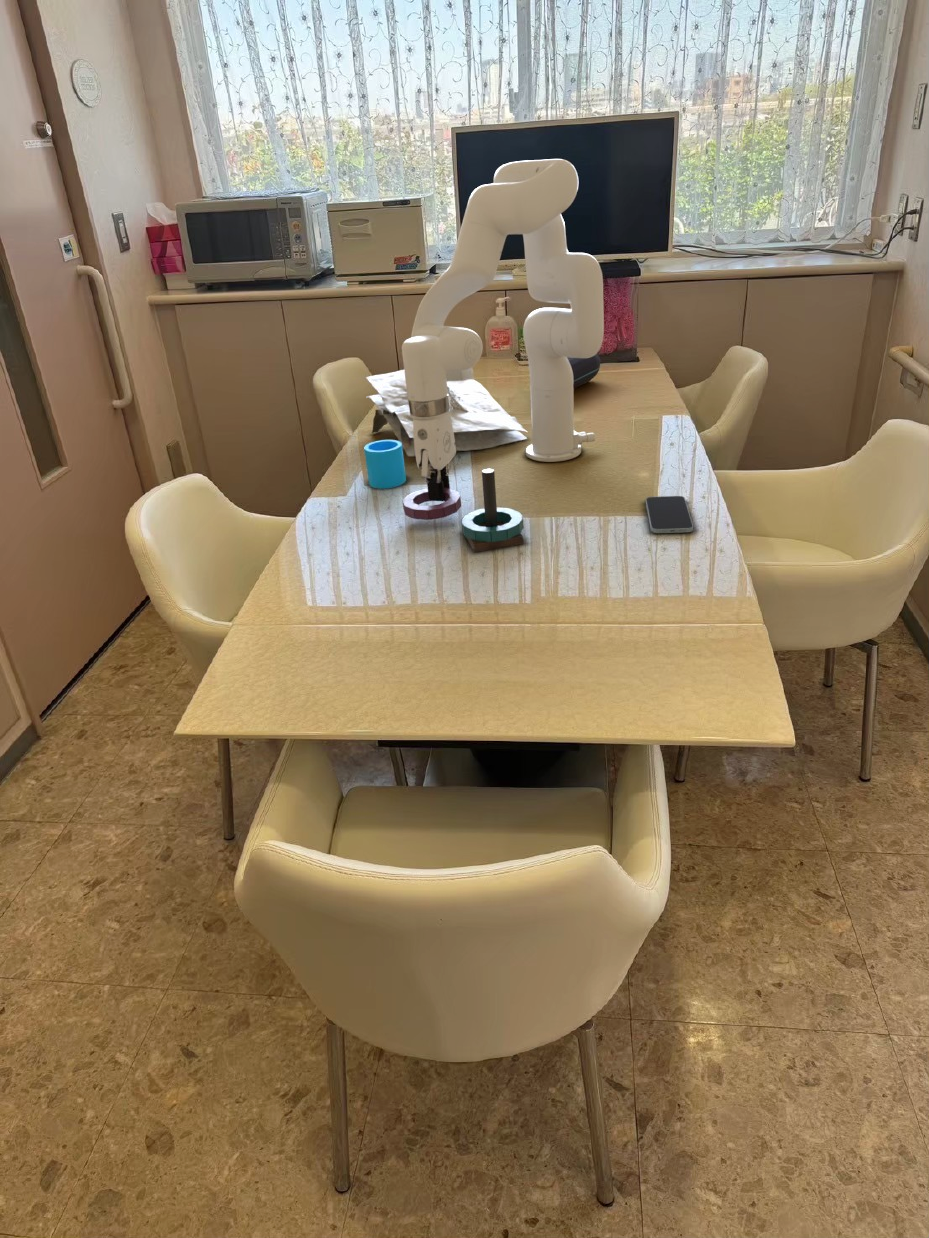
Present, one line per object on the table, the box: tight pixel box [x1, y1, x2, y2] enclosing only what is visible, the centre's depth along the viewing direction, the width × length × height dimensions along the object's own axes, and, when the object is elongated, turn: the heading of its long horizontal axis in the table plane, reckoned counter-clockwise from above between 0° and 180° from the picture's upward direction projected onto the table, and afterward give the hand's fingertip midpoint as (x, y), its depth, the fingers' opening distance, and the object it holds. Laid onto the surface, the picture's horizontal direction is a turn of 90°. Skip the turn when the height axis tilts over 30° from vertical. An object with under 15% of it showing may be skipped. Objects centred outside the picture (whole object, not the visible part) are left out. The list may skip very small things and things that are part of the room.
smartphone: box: [645, 495, 694, 534], centre depth 153 cm, size 7×1×15 cm
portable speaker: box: [567, 353, 601, 390], centre depth 234 cm, size 25×10×10 cm, turn 144°
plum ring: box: [401, 487, 462, 521], centre depth 160 cm, size 11×11×2 cm
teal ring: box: [460, 507, 525, 542], centre depth 151 cm, size 11×11×2 cm
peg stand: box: [465, 468, 524, 553], centre depth 148 cm, size 9×9×13 cm
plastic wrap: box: [365, 369, 528, 457], centre depth 206 cm, size 35×16×32 cm
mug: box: [363, 439, 407, 489], centre depth 181 cm, size 12×8×8 cm
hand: (439, 496), depth 164 cm, fingers closed on plum ring, 2 cm apart
